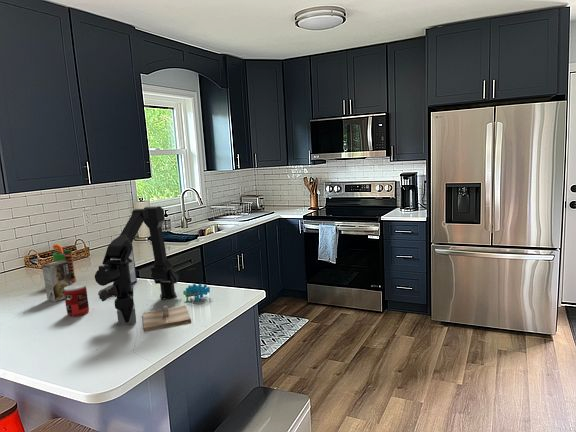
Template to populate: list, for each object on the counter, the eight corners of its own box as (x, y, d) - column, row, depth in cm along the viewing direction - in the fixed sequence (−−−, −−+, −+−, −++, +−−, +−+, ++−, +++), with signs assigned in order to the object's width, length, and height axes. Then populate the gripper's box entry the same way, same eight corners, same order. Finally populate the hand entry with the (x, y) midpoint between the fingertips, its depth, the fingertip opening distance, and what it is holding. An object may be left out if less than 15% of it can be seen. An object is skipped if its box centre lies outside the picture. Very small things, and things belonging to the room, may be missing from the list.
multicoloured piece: (75, 283, 214) (69, 244, 211) (55, 286, 211) (49, 247, 208) (77, 278, 223) (71, 241, 220) (57, 281, 220) (52, 243, 217)
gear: (213, 291, 182) (205, 280, 174) (213, 304, 178) (205, 293, 170) (188, 295, 183) (179, 285, 175) (187, 308, 179) (178, 298, 171)
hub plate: (142, 315, 163) (141, 303, 162) (185, 308, 168) (184, 296, 167) (144, 331, 148) (142, 318, 147) (191, 322, 153) (189, 309, 152)
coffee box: (66, 293, 198) (61, 259, 195) (74, 295, 194) (69, 260, 192) (46, 300, 190) (41, 264, 188) (54, 302, 187) (49, 266, 184)
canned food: (68, 311, 173) (64, 285, 171) (90, 308, 175) (86, 282, 174) (66, 318, 165) (62, 290, 164) (88, 314, 168) (84, 287, 167)
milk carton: (116, 286, 205) (111, 245, 202) (124, 282, 211) (119, 242, 208) (129, 286, 203) (124, 245, 200) (137, 282, 210) (132, 242, 207)
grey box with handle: (119, 320, 160) (117, 306, 159) (136, 317, 162) (134, 303, 161) (118, 325, 154) (116, 311, 153) (136, 322, 156) (134, 308, 155)
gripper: (99, 274, 162) (104, 314, 164) (96, 287, 144) (102, 331, 146) (130, 270, 165) (135, 308, 168) (131, 282, 148) (136, 325, 150)
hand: (127, 318), depth 158 cm, fingers open, 9 cm apart
